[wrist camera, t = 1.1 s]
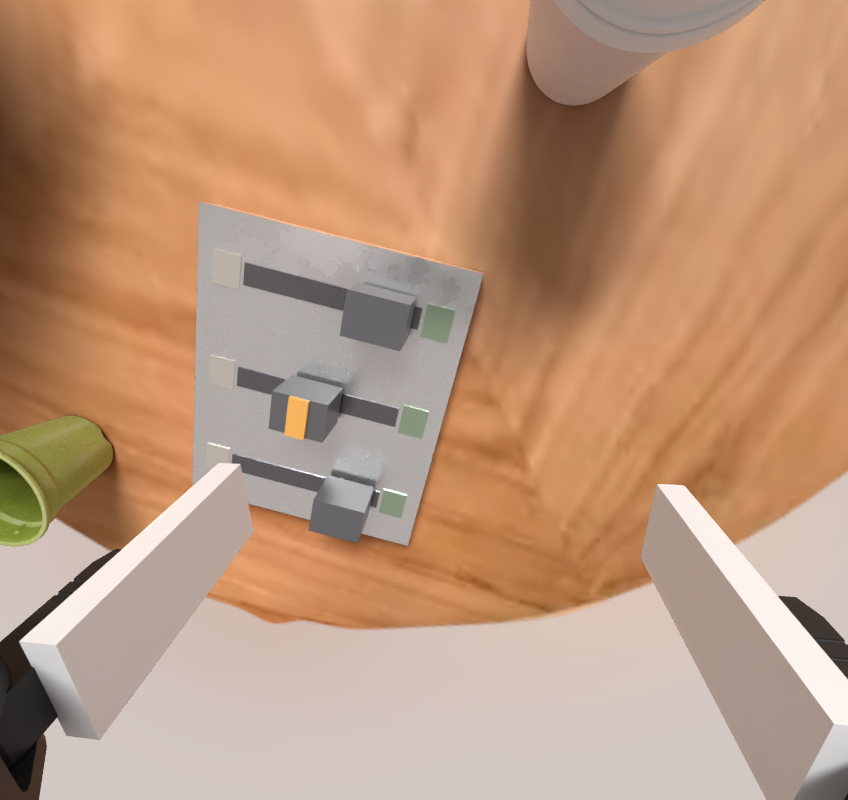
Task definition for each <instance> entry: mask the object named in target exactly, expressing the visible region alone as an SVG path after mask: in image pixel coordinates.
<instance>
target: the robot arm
mask: <svg viewBox="0 0 848 800" xmlns="http://www.w3.org/2000/svg"><path fill="white" fill-rule="evenodd" d="M253 532H254V531H253V526H252V521H251V516H250V510H249V505H248V500H247V495H246V490H245V485H244V480H243V475H242V469H241V464H230V463H218V464H217V465H216V466H215V467H214V468H212V469H211V470H210V471H209V472H208V473H207V474H206V475H205V476H203V477H202V478H201V479H200V480H199V481H198V482H197V483H196V484H195V485H193V486H192V487H191V488H190V489H189V490H188V491H187V492H186V493H184V494H183V495H182V496H181V497H180V498H179V499H178V500H177V501H176V502H174V503H173V504H172V505H171V506H170V507H169V508H168V509H167V510H165V511H164V512H163V513H162V514H161V515H160V516H159V517H158V518H157V519H155V520H154V521H153V522H152V523H151V524H150V525H149V526H148V527H146V528H145V529H144V530H143V531H142V532H141V533H140V534H139V535H137V536H136V537H135V538H134V539H133V540H132V541H131V542H130V543H129V544H127V545H126V546H125V547H124V548H123V549H115V550H113V551H112V552H110V553H108V554H106V555H105V556H103V557H102V558H100V559H98V560H96V561H94V562H93V563H91V564H90V565H89V566H88V567H87V568H86V569H85V570H83V571H82V572H81V573H80V574H79V575H78V576H76V577H75V578H74V581H73V582H69V583H68V584H67V585H66V586H65V587H64V588H62V589H61V590H60V591H59V593H58V595H57V596H56V595H55V596H53V597H52V598H51V599H50V600H48V601H47V602H46V603H45V604H44V605H43V606H42V607H40V608H39V609H38V610H37V611H36V612H34V613H33V614H32V615H31V616H30V617H29V618H28V619H26V620H25V621H24V622H23V623H22V624H21V625H19V626H18V627H17V628H16V629H15V630H14V631H13V632H11V633H10V634H9V635H8V636H7V637H5V638H4V639H3V640H2V641H1V642H0V800H39V795H40V788H41V782H42V775H43V768H44V761H45V755H46V747H47V745H46V738H45V736H44V734H43V733H44V732H45V731H46V730H47V728H48V727H49V726H50V725H51V723H53V721H54V720H55V719H56V718H58V720H59V722H60V724H61V726H62V728H63V729H64V732H65V734H66V735H67V736H74V737H81V738H89V739H97V740H100V739H101V737H102V736H103V735H104V733H105V732H106V731H107V729H108V728H109V726H110V725H111V724H112V722H113V721H114V720H115V718H116V717H117V716H118V714H119V713H120V712H121V710H122V709H123V708H124V706H125V705H126V703H127V702H128V701H129V699H130V698H131V697H132V695H133V694H134V693H135V691H136V690H137V689H138V687H139V686H140V685H141V683H142V682H143V681H144V679H145V678H146V676H147V675H148V674H149V672H150V671H151V670H152V668H153V667H154V666H155V664H156V663H157V662H158V660H159V659H160V658H161V656H162V655H163V654H164V652H165V651H166V649H167V648H168V647H169V645H170V644H171V643H172V641H173V640H174V639H175V637H176V636H177V635H178V633H179V632H180V630H181V629H182V628H183V626H184V625H185V624H186V623H187V621H188V620H189V618H190V617H191V616H192V614H193V613H194V612H195V610H196V609H197V608H198V606H199V605H200V604H201V602H202V601H203V600H204V598H205V597H206V596H207V594H208V593H209V591H210V590H211V589H212V587H213V586H214V585H215V583H216V582H217V581H218V579H219V578H220V577H221V575H222V574H223V573H224V571H225V570H226V569H227V567H228V566H229V564H230V563H231V562H232V560H233V559H234V558H235V556H236V555H237V554H238V552H239V551H240V550H241V548H242V547H243V546H244V544H245V543H246V542H247V540H248V539H249V537H250V536H251V535H252V533H253ZM641 559H642V561H643V563H644V565H645V567H646V569H647V571H648V573H649V575H650V577H651V578H652V580H653V582H654V584H655V586H656V588H657V590H658V592H659V594H660V596H661V598H662V600H663V602H664V604H665V605H666V607H667V609H668V611H669V613H670V615H671V617H672V619H673V621H674V623H675V625H676V627H677V628H678V630H679V632H680V634H681V636H682V638H683V640H684V642H685V644H686V646H687V648H688V650H689V652H690V654H691V655H692V657H693V659H694V661H695V663H696V665H697V667H698V669H699V671H700V673H701V675H702V677H703V679H704V680H705V682H706V684H707V686H708V688H709V690H710V692H711V694H712V696H713V698H714V700H715V702H716V703H717V705H718V707H719V709H720V711H721V713H722V715H723V717H724V719H725V721H726V723H727V725H728V727H729V729H730V730H731V732H732V734H733V736H734V738H735V740H736V742H737V744H738V746H739V748H740V750H741V752H742V754H743V756H744V757H745V759H746V761H747V763H748V765H749V767H750V769H751V771H752V773H753V774H754V777H755V778H756V780H757V782H758V784H759V786H760V788H761V790H762V792H763V794H764V796H765V798H766V799H767V800H848V645H846V644H845V642H844V641H845V640H844V639H843V638H842V637H841V636H840V635H839V634H838V633H837V631H836V630H835V629H834V628H833V627H832V626H831V625H830V624H829V623H828V622H827V621H826V620H825V618H824V617H822V616H821V615H820V614H818V613H817V612H816V611H814V610H813V609H811V608H810V607H809V606H807V605H806V604H804V603H803V602H802V601H800V600H799V599H798V598H796V597H785V596H777V595H776V594H775V593H774V592H773V590H772V589H771V588H770V587H769V585H768V584H767V583H766V582H765V581H764V580H763V578H762V577H761V576H760V575H759V574H758V572H757V571H756V570H755V569H754V568H753V566H752V565H751V564H750V563H749V562H748V561H747V559H746V558H745V557H744V556H743V555H742V553H741V552H740V551H739V550H738V549H737V548H736V546H735V545H734V544H733V543H732V542H731V540H730V539H729V538H728V537H727V536H726V534H725V533H724V532H723V531H722V530H721V529H720V527H719V526H718V525H717V524H716V523H715V521H714V520H713V519H712V518H711V517H710V516H709V514H708V513H707V512H706V511H705V510H704V508H703V507H702V506H701V505H700V504H699V502H698V501H697V500H696V499H695V498H694V497H693V495H692V494H691V493H690V492H689V491H688V489H687V488H686V487H685V486H684V485H666V484H657V486H656V490H655V495H654V499H653V504H652V508H651V513H650V517H649V522H648V526H647V531H646V535H645V540H644V544H643V548H642V553H641Z"/></svg>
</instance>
